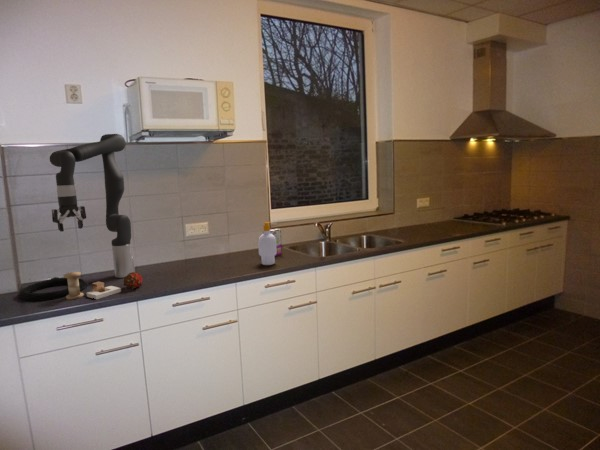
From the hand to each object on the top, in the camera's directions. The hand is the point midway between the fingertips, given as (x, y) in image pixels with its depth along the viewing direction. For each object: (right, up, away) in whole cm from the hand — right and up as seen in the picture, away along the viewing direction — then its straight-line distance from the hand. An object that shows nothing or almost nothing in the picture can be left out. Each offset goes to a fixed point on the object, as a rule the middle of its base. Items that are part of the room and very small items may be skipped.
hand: (71, 229), depth 187 cm
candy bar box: (+90, -17, +66) cm, 113 cm away
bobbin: (+3, -31, -3) cm, 31 cm away
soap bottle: (+88, -20, +46) cm, 102 cm away
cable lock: (-13, -30, +8) cm, 34 cm away
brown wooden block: (+12, -30, +2) cm, 32 cm away
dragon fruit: (+25, -29, +9) cm, 39 cm away
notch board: (+15, -30, 0) cm, 34 cm away
